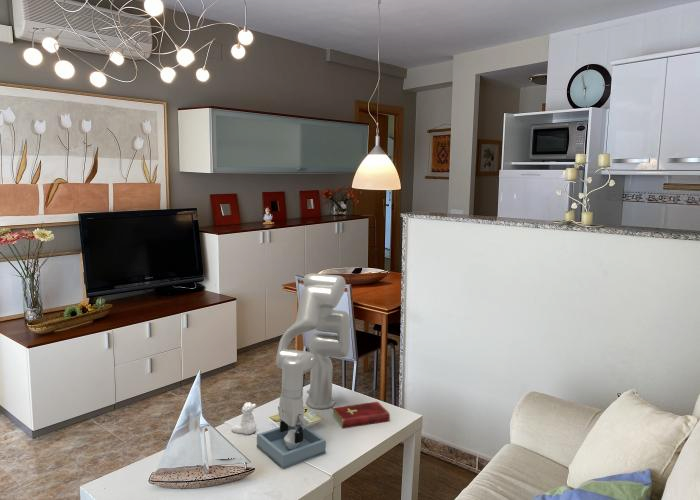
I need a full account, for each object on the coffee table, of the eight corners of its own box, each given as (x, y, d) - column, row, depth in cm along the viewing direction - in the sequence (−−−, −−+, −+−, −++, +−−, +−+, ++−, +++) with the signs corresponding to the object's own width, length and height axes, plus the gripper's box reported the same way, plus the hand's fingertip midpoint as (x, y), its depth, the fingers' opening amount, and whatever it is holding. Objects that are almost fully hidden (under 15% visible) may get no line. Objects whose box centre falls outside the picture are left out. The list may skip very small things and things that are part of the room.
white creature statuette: (249, 423, 215) (249, 394, 213) (263, 430, 209) (264, 401, 208) (230, 431, 208) (230, 402, 206) (244, 439, 202) (244, 409, 200)
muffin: (292, 453, 191) (293, 435, 190) (280, 448, 194) (280, 430, 193) (304, 447, 196) (304, 429, 195) (291, 441, 199) (292, 423, 198)
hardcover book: (389, 422, 221) (390, 412, 220) (341, 429, 213) (342, 419, 212) (377, 410, 232) (377, 400, 231) (331, 416, 224) (332, 407, 223)
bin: (256, 447, 197) (257, 434, 196) (297, 433, 208) (298, 421, 207) (282, 469, 183) (283, 455, 182) (325, 453, 194) (325, 440, 193)
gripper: (270, 386, 196) (270, 429, 199) (296, 402, 183) (295, 449, 186) (288, 381, 201) (287, 424, 204) (314, 397, 188) (313, 443, 190)
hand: (291, 436), depth 195 cm, fingers open, 9 cm apart
